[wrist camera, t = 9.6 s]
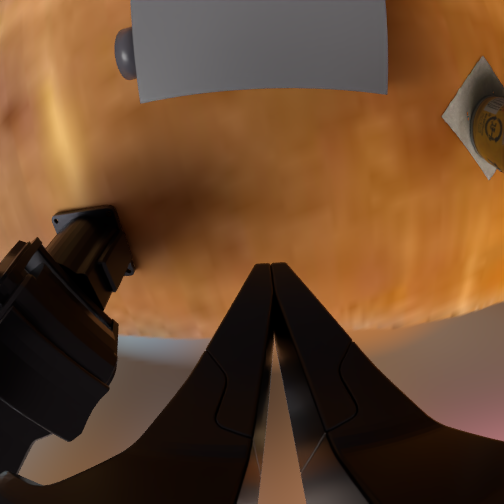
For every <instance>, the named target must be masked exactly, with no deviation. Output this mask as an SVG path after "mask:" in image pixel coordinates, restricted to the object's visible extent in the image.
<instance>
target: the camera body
mask: <svg viewBox="0 0 504 504" xmlns="http://www.w3.org/2000/svg"><path fill="white" fill-rule="evenodd" d="M131 19H132V27H129V28H125V29H122V30H120V31H119V32H118V34H117V36H116V40H115V58H116V63H117V66H118V69H119V71H120V73H121V74H122V76H123V77H124V78H125V79H127V80H132V79H136V78H137V82H138V90H139V97H140V104H141V103H145V102H150V101H156V100H161V99H167V98H173V97H179V96H186V95H193V94H201V93H209V92H219V91H230V90H243V89H263V88H317V89H336V90H350V91H361V92H370V93H378V94H386V95H387V90H388V37H387V17H386V4H385V0H131Z"/></svg>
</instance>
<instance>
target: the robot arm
mask: <svg viewBox="0 0 504 504" xmlns="http://www.w3.org/2000/svg"><path fill="white" fill-rule="evenodd" d="M108 211H110V212H111V214H109V213H108ZM57 220H58V221H57ZM52 223H53V225H54V228H55V230H56V233H57V235H56V236H55V237H54V239H53V240H52V241H51V242H50V244H49V245H48V246H47V247H46V248H44V246H43V245H42V242H41V241H40V239H39V238H38V237H37V238H36V239H34V240H33V241H32V242H31V243H30V241H29V242H27V243H25V242H23V241H20V240H19V241H18V242H17V243H16V245H15V246H14V247H13V248H12V249H11V250H10V252H9V253H8V254H7V255H6V256H5V257H4V259H3V260H2V261H1V262H0V504H258V496H259V487H260V480H261V476H260V475H261V471H262V463H263V453H264V443H265V435H266V425H267V415H268V404H269V394H270V383H271V370H272V359H273V346H274V338H275V344H276V350H277V354H278V359H279V365H280V370H281V375H282V380H283V385H284V390H285V395H286V400H287V405H288V410H289V415H290V420H291V426H292V431H293V436H294V441H295V446H296V451H297V456H298V462H299V467H300V472H301V477H302V483H303V488H304V493H305V498H306V503H307V504H504V441H500V440H495V439H491V438H487V437H483V436H479V435H476V434H472V433H468V432H465V431H461V430H458V429H454V428H451V427H448V426H445V425H443V424H441V423H439V422H437V421H435V420H433V419H432V418H431V417H429V416H428V415H427V414H426V413H425V412H423V411H422V410H421V409H420V408H419V407H418V406H417V405H416V404H415V403H414V402H413V401H412V400H410V399H409V398H408V397H407V396H406V395H405V394H404V393H403V392H402V391H401V390H400V389H399V388H398V387H396V386H395V385H394V384H393V383H392V382H391V381H390V380H389V379H388V378H387V377H386V376H385V375H384V374H383V373H382V372H381V371H380V370H379V369H378V368H377V367H376V366H375V365H374V364H373V363H372V362H371V361H370V360H369V358H368V357H367V356H366V355H365V354H364V353H363V352H362V351H361V350H360V348H359V347H358V346H357V345H356V344H355V342H352V339H351V338H350V337H349V335H348V334H347V333H346V332H345V331H344V329H343V328H342V327H341V326H340V325H339V323H338V322H337V321H336V320H335V319H334V318H333V316H332V315H331V314H330V313H329V312H328V311H327V309H326V308H325V307H324V306H323V305H322V304H321V303H320V301H319V300H318V299H317V298H316V297H315V296H314V294H313V293H312V292H311V291H310V290H309V289H308V287H307V286H306V285H305V284H304V283H303V282H302V281H301V279H300V278H299V277H298V276H297V275H296V274H295V273H294V271H293V270H292V269H291V268H290V267H289V266H288V265H287V263H285V262H280V263H272V264H271V265H270V264H269V263H261V264H256V265H255V266H254V267H253V269H252V271H251V273H250V274H249V276H248V278H247V279H246V281H245V283H244V285H243V286H242V288H241V290H240V291H239V293H238V295H237V297H236V298H235V300H234V302H233V303H232V305H231V307H230V309H229V310H228V312H227V314H226V315H225V317H224V319H223V321H222V322H221V324H220V326H219V327H218V329H217V331H216V333H215V334H214V336H213V338H212V339H211V341H210V343H209V345H208V346H207V348H206V351H204V353H203V355H202V356H201V358H200V360H199V361H198V363H197V364H196V366H195V368H194V369H193V371H192V372H191V374H190V375H189V377H188V379H187V380H186V381H185V383H184V384H183V385H182V387H181V388H180V389H179V390H178V392H177V393H176V394H175V396H174V397H173V398H172V400H171V401H170V402H169V403H168V404H167V406H166V407H165V408H164V409H163V411H162V412H161V413H160V414H159V416H158V417H157V418H156V419H155V420H154V422H153V423H152V424H151V425H150V427H149V428H148V429H147V430H146V431H145V433H144V434H143V435H142V436H141V437H140V438H139V439H138V440H137V441H136V442H135V443H134V444H133V445H132V446H130V447H129V448H128V449H126V450H125V451H123V452H121V453H120V454H118V455H116V456H114V457H112V458H110V459H108V460H106V461H104V462H102V463H100V464H98V465H96V466H94V467H92V468H90V469H87V470H85V471H83V472H81V473H79V474H76V475H74V476H72V477H70V478H67V479H65V480H62V481H60V482H57V483H54V484H51V485H45V486H43V485H41V484H38V483H36V482H34V481H31V480H29V479H27V478H24V477H22V476H20V475H18V473H19V471H20V469H21V467H22V465H23V463H24V460H25V459H26V457H27V455H28V452H29V451H30V449H31V447H32V445H33V444H34V442H35V441H37V440H39V439H42V438H44V437H47V436H49V435H52V434H54V435H56V436H58V437H60V438H62V439H64V440H65V441H67V442H70V441H72V440H73V439H75V438H76V437H77V436H79V435H80V434H81V433H82V431H83V429H84V427H85V424H86V422H87V420H88V417H89V416H90V414H91V412H92V410H93V409H94V407H95V406H96V404H97V403H98V401H99V400H100V399H101V398H102V397H103V396H104V395H105V394H106V393H107V392H108V391H109V384H110V383H111V381H112V379H113V377H114V375H115V371H116V367H117V361H118V358H117V345H118V326H119V324H118V323H117V322H116V321H115V320H114V319H111V318H110V317H109V316H108V315H107V314H105V313H104V312H103V311H104V309H105V307H106V304H107V302H108V300H109V298H110V295H111V293H112V292H116V291H117V289H118V287H119V285H120V283H121V281H122V278H123V276H131V275H133V274H134V272H135V266H134V264H133V261H132V254H131V251H130V248H129V245H128V242H127V239H126V236H125V233H124V232H123V231H122V228H121V225H120V222H119V219H118V215H117V212H116V210H115V208H114V207H113V206H103V207H95V208H89V209H82V210H76V211H69V212H63V213H57V214H55V215H54V216H53V217H52ZM128 269H130V270H128Z"/></svg>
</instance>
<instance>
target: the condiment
mask: <svg viewBox="0 0 504 504" xmlns="http://www.w3.org/2000/svg"><path fill="white" fill-rule="evenodd" d="M493 92H494V93H493ZM467 112H468V116H467ZM468 117H469V120H468ZM442 118H443V119H444V120H445V121H446V122H447V123H448V125H449V126H450V127H451V129H452V130H453V131H454V132H455V133H456V134H457V136H458V137H459V138H460V140H461V141H462V142H463V144H464V145H465V146H466V148H467V149H468V151H469V152H470V154H471V155H472V156H473V158H474V159H475V161H476V162H477V163H478V165H479V166H480V168H481V169H482V171H483V172H484V174H485V175H486V177H487V178H488V180H490V178H491V177H492V176H493V174H494V173H495V171H496V169H498V170H499V171H501V172H503V173H504V87H503V85H502V84H501V83H500V81H499V79H498V78H497V76H496V75H495V73H494V72H493V70H492V68H491V67H490V65H489V63H488V62H487V61H486V59H485V58H484V57H483V56H482V57H481V59H480V60H479V62H478V63H477V64H476V66H475V67H474V68H473V70H472V72H471V73H470V74H469V76H468V77H467V79H466V80H465V82H464V83H463V85H462V86H461V88H459V90H458V92H457V94H456V96H455V97H454V99H453V100H452V101H451V103H450V104H449V106H448V108H447V109H446V111H445V112H444V114H443V115H442Z"/></svg>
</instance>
